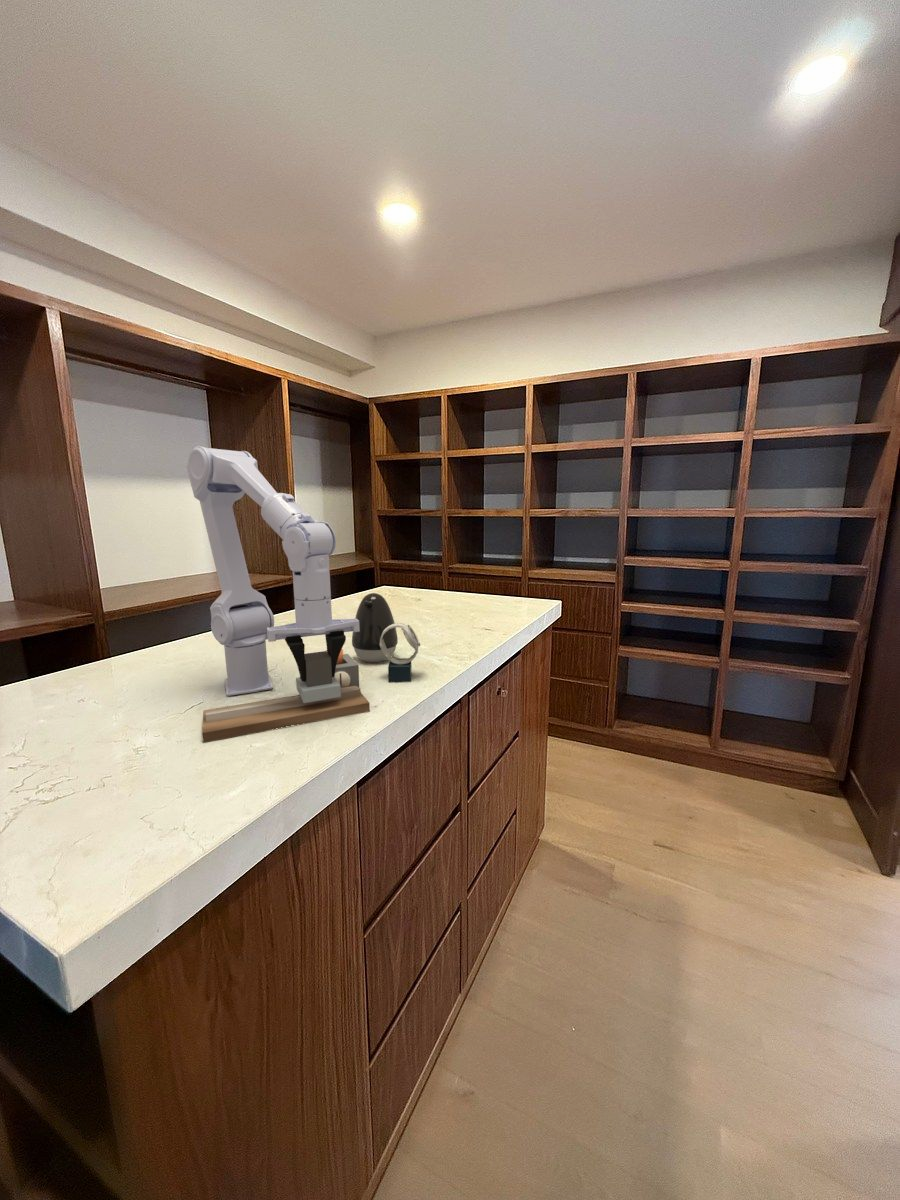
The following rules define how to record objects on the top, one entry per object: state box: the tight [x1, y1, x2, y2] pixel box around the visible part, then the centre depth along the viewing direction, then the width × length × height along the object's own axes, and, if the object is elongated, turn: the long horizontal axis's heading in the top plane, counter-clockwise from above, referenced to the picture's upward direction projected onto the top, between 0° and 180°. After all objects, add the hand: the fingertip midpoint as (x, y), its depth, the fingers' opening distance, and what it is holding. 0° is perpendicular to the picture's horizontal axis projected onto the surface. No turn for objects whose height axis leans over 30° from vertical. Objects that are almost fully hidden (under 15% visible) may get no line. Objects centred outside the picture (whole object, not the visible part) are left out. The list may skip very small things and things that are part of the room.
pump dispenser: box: [351, 592, 399, 663], centre depth 108 cm, size 10×10×15 cm
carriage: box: [295, 650, 341, 703], centre depth 80 cm, size 7×6×6 cm
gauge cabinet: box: [335, 653, 360, 688], centre depth 91 cm, size 8×7×5 cm
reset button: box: [325, 648, 344, 665], centre depth 91 cm, size 3×3×2 cm
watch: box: [380, 622, 421, 683], centre depth 96 cm, size 6×8×11 cm
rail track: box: [201, 686, 371, 744], centre depth 79 cm, size 9×25×3 cm, turn 116°
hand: (317, 677), depth 80 cm, fingers closed on carriage, 4 cm apart
